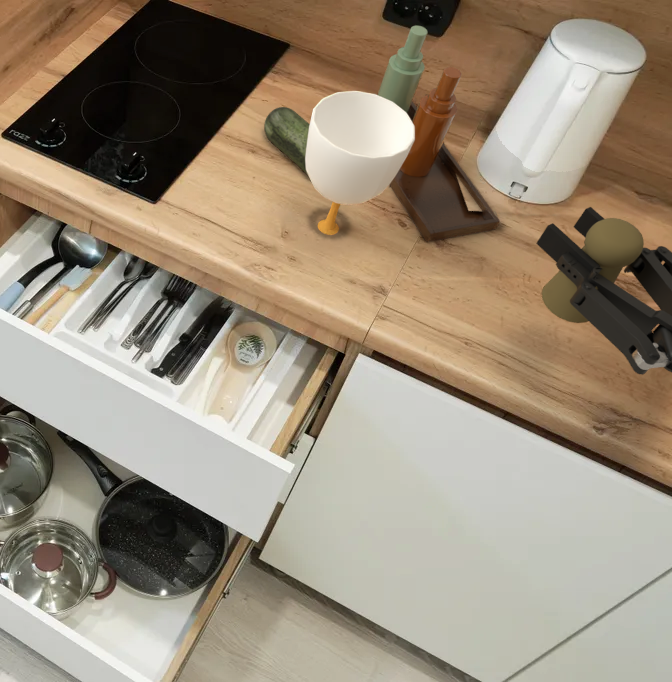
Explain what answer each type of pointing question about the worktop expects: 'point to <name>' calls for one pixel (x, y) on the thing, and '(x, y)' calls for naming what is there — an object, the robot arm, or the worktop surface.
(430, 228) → the tray
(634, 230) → the olive pepper shaker
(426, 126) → the amber bottle
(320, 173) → the cup
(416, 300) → the worktop surface
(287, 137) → the vegetable
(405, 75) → the sage bottle
